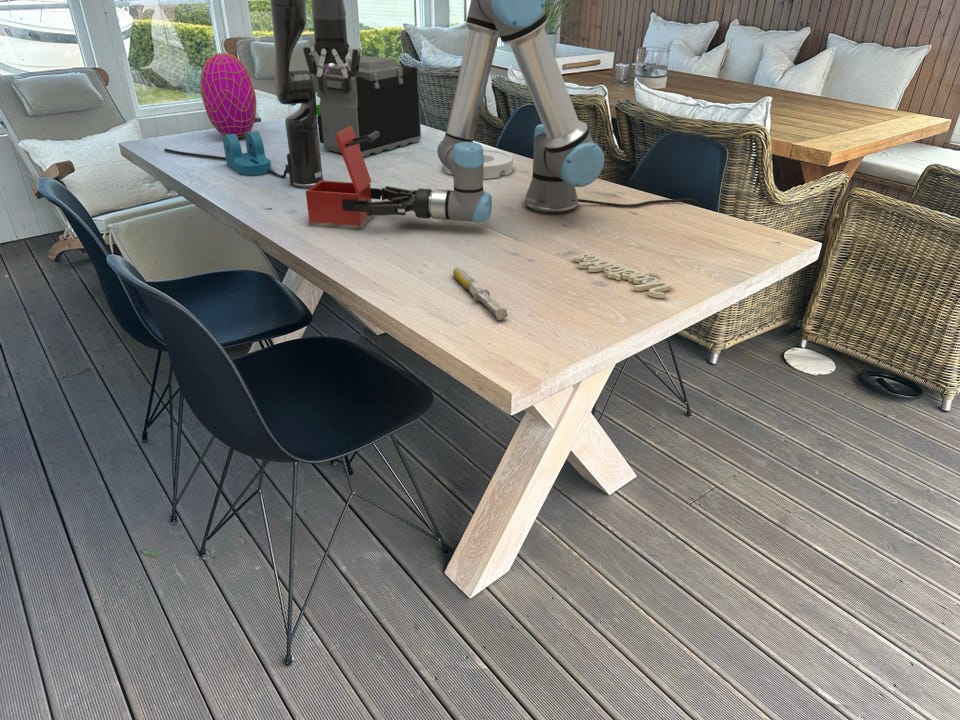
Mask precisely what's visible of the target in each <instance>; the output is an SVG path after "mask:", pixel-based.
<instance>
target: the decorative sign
mask: <svg viewBox="0 0 960 720" xmlns="http://www.w3.org/2000/svg"><path fill="white" fill-rule="evenodd" d="M574 262H575V263H578V269H588V270H587V272H588V273H598V272H603V273H604V276H606V277H607V278H608V279H614V280H617V281H621V279H622V280H627V281H628V282H630V283H633V284H634V285H633V291H636V292H643V291H647V290H648V293H647V294H648V296H649V297H652V298H656V299H664V298H665V295H666V292H668V291H669V290H670V289H671V283H670V282H668V281H659V279H658V272H657V271H648V272H639V271H637V270H634V269H630V268H628V267H627V266H626V267H625V266H624V265H619V264H618V263H615V262H611V261H610V260H604V258H601V257H598V256H596V255H592V254H590V253H587V252H586V253H582V254H581V255H580V256H578V255H575V256H574Z"/></svg>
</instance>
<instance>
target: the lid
mask: <svg viewBox="0 0 960 720" xmlns="http://www.w3.org/2000/svg"><path fill="white" fill-rule="evenodd" d="M379 135H380V133H379V131H374V132H373V133H372V134H369V135H365V136H362V137H358V138H356V136H355V133H354V130H353V128H352V125H351V126H348V127H347V128H345V129H343V130H342V131H340V132H339V133H337V134H335V136H336V139H337V142H338V145H339V147H340V150H341V153H340V154H341V156H342V159H343V161H344V164H345V166H346V169H347V172H348V175H349V177H350V180H351V183H353V186H354V188H355V191H356V193H359V192H360V191H361V190H363V189H364V188H365V187H366V186H367V185H368V184H371V183H372V182H373V181H372V178H371V176H370V174H369V173H370V172H369V169H368V168H367V164H366V162H365V159H364V157H363V156H362V153H361V150H360V147H359V145H358V144H359V143H363V142H368V143H370V142H372V141H373V140H374V139H376V138H377V137H379Z"/></svg>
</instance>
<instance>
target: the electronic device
mask: <svg viewBox="0 0 960 720" xmlns="http://www.w3.org/2000/svg"><path fill="white" fill-rule="evenodd" d="M345 58H346V60H347V62H348V66H349V69H350V71H351V62H352V58H351V57H350V58H349V57H345ZM330 66H331V67H329V73H328V72H325V76H326V82H327V93H322V92H321V91H320V90H319V84H318V77H317V76H316V75H314V74H312V75H313V78H314V82H315V90H316V94H318V96H319V97H318V96H317V97H318V98H319V105H320V111H321V115H319V116H317V127H318V137H319V144H323V146H324V149H325V150H327V151H330V152H335V153H340V154H342V153H341V150H340V147H339V145H338V142H337V139H336V136H335V134H337V133H339V132H340V131H342V130H343V129H345V128H347V127H348V126H351V125H352V128H353V130H354V133H355V136H356V138H358V137H362V136H365V135H369V134H372V133H373V132H374V131H379V133H380V135H379V137H377V138H376V139H374V140H373V141H372V142H370V143H368V142H363V143H359V144H358V145H359V147H360V150H361V153H362V156H363V158H366V157H367V158H368V157H369V155H371V154H375V155H377V154H381V153H382V152H383V151H391V150H395V149H396V148H397V147H405V146H407V145H408V144H416V143H418V142H419V141H421V137H422V128H421V97H420V92H419V91H420V89H419V68H418V67H417V66H408V65H400V64H396V62H395V60H394V59H393V58H385V57H377V56H367V55H360V63H359V71H358V74H356V75H354V76H352V77H351V85H352V90H351V92H350V94H348V95H345V94H344V86H343V78H344V76H343V74H342V71H341V69H340V68H339V66H338V64H333V65H330Z"/></svg>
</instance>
